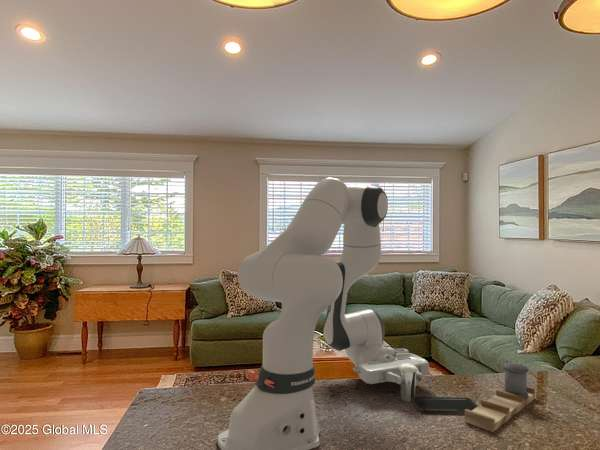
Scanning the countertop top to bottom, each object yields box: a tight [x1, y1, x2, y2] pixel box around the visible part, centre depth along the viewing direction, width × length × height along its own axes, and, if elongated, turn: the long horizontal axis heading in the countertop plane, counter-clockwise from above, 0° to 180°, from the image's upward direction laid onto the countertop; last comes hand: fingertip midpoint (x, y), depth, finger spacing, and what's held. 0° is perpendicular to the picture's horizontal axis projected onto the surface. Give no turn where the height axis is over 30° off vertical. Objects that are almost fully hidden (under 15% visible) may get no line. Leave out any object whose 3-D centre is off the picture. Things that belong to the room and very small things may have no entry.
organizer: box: [464, 385, 536, 433], centre depth 101 cm, size 26×6×3 cm, turn 132°
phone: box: [412, 396, 479, 415], centre depth 102 cm, size 8×1×15 cm
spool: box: [502, 362, 529, 398], centre depth 107 cm, size 6×6×7 cm
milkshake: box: [399, 363, 420, 403], centre depth 107 cm, size 4×5×10 cm
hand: (411, 379), depth 106 cm, fingers open, 4 cm apart
